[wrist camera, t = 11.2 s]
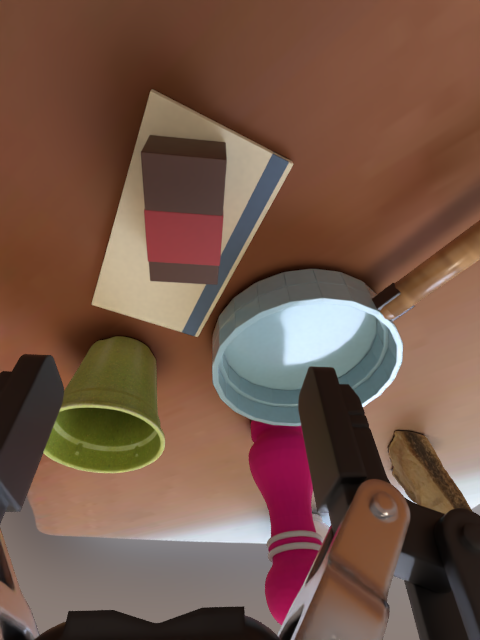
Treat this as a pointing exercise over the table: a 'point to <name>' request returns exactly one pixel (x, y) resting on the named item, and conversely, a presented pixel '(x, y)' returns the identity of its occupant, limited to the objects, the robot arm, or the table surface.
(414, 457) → the rock
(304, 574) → the pepper mill
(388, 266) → the table surface
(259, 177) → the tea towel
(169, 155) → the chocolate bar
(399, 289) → the pan handle
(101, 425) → the plant pot
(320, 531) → the flower vase
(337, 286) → the pan
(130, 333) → the table surface
